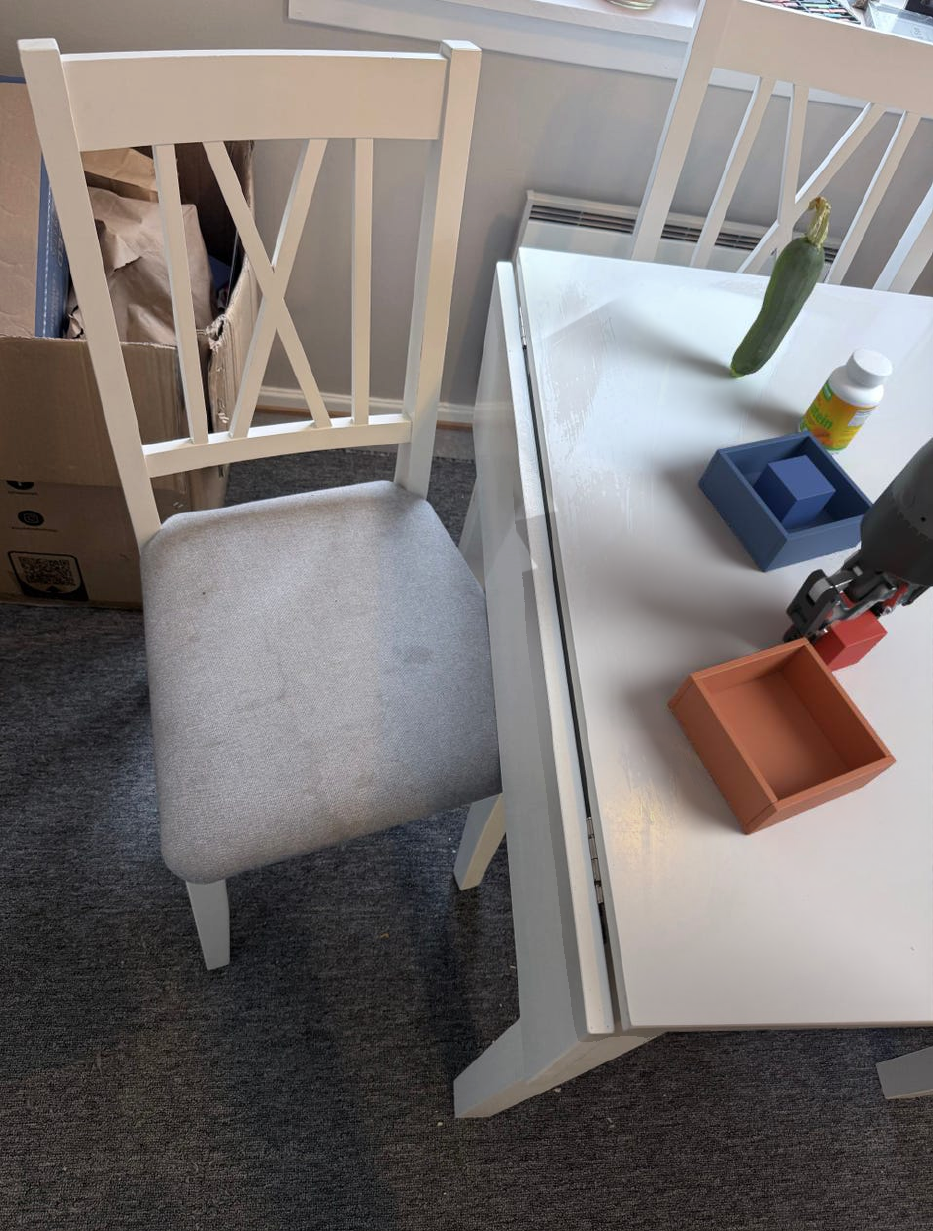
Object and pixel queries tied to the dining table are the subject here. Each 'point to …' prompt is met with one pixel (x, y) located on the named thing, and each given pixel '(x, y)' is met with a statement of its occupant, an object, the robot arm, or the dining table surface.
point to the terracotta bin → (778, 733)
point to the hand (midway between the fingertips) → (819, 638)
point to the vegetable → (785, 293)
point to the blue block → (793, 491)
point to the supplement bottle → (847, 400)
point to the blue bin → (757, 524)
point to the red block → (849, 639)
